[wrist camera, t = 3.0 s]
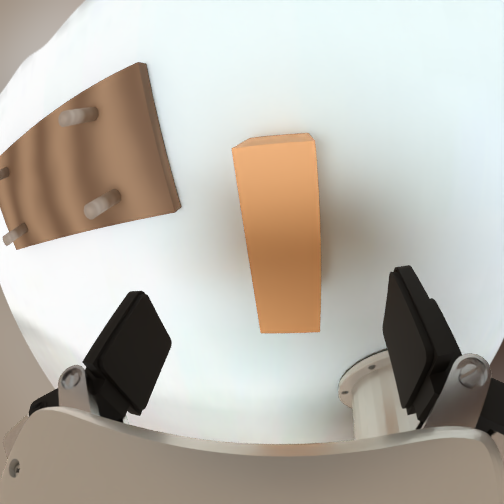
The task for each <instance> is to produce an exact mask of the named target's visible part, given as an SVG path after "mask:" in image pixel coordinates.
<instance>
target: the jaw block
mask: <svg viewBox="0 0 504 504" xmlns="http://www.w3.org/2000/svg"><path fill="white" fill-rule="evenodd" d="M232 154H233V161H234V167H235V174H236V180H237V187H238V193H239V199H240V206H241V212H242V219H243V225H244V231H245V238H246V244H247V250H248V256H249V263H250V269H251V275H252V282H253V288H254V294H255V300H256V306H257V313H258V319H259V325H260V331H261V333H306V332H320V312H321V236H320V207H319V188H318V172H317V159H316V147H315V140H314V139H313V138H312V137H311V136H310V134H309V133H300V134H286V135H274V136H264V137H255V138H249V139H247V140H246V141H244V142H242V143H240V144H239V145H237V146H235V147H233V148H232Z"/></svg>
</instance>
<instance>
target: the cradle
mask: <svg viewBox="0 0 504 504" xmlns="http://www.w3.org/2000/svg"><path fill="white" fill-rule="evenodd" d="M0 208H1V211H2V214H3V217H4V219H5V222H6V225H7V228H8V230H9V233H7V234H6V235H4V236H3V241H4V243H5V245H6V246H8V245H9V244H10V243H12V242H13V243H14V245H15V247H16V250H18V249H21V248H25V247H28V246H32V245H35V244H39V243H43V242H46V241H50V240H54V239H58V238H61V237H65V236H69V235H73V234H77V233H81V232H85V231H90V230H94V229H98V228H102V227H107V226H111V225H116V224H120V223H125V222H130V221H134V220H139V219H144V218H149V217H154V216H159V215H164V214H169V213H175V212H176V211H177V210H178V209H179V208H181V205H180V201H179V198H178V194H177V191H176V187H175V184H174V180H173V176H172V173H171V169H170V165H169V161H168V158H167V154H166V150H165V146H164V142H163V138H162V134H161V130H160V126H159V121H158V117H157V113H156V108H155V104H154V99H153V95H152V90H151V85H150V81H149V76H148V71H147V66H146V64H145V63H140V62H137V63H135V64H133V65H131V66H129V67H127V68H125V69H123V70H121V71H119V72H117V73H115V74H113V75H111V76H109V77H107V78H105V79H104V80H102V81H100V82H98V83H96V84H95V85H93V86H91V87H90V88H88V89H86V90H85V91H83V92H81V93H80V94H78V95H77V96H75V97H74V98H72V99H70V100H69V101H67V102H66V103H64V104H63V105H62V106H60V107H59V108H57V109H56V110H54V111H53V112H52V113H50V114H49V115H48V116H46V117H45V118H44V119H42V120H41V121H40V122H38V123H37V124H36V125H35V126H33V127H32V128H31V129H30V130H29V131H27V132H26V133H25V134H24V135H23V136H21V137H20V138H19V139H18V140H17V141H16V142H15V143H13V144H12V145H11V146H10V147H9V148H8V149H7V150H6V151H5V152H4V153H3V154H2V155H1V156H0Z"/></svg>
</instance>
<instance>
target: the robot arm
mask: <svg viewBox="0 0 504 504" xmlns="http://www.w3.org/2000/svg"><path fill="white" fill-rule="evenodd" d="M383 335H384V339H385V342H386V346H387V349H388V350H387V351H383V352H380V353H378V354H375V355H372V356H370V357H368V358H366V359H364V360H362V361H361V362H359V363H358V364H356V365H355V366H353V367H352V368H351V369H350V370H349V371H347V372H346V374H345V375H344V376H343V377H342V379H341V381H340V383H339V387H338V393H339V398H340V401H341V402H342V403H343V404H345V405H346V406H348V407H350V408H353V421H354V437H355V440H347V441H338V442H327V443H312V444H248V443H233V442H222V441H213V440H204V439H197V438H190V437H184V436H178V435H173V434H168V433H163V432H158V431H153V430H149V429H144V428H140V427H136V426H132V425H129V422H128V419H127V416H126V413H127V411H128V412H129V413H131V414H135V415H139V416H140V415H141V412H142V410H144V409H145V408H146V406H147V403H148V401H149V398H150V396H151V393H152V391H153V389H154V386H155V384H156V381H157V379H158V376H159V374H160V372H161V369H162V367H163V365H164V362H165V360H166V357H167V355H168V353H169V350H170V348H171V339H170V337H169V335H168V333H167V331H166V329H165V328H164V326H163V324H162V322H161V320H160V318H159V316H158V314H157V312H156V310H155V308H154V306H153V305H152V303H151V301H150V298H149V297H148V295H146V294H145V293H144V292H143V291H131V292H129V293H128V294H127V296H126V297H125V298H124V300H123V301H122V303H121V304H120V305H119V307H118V308H117V310H116V311H115V313H114V314H113V316H112V317H111V319H110V320H109V321H108V323H107V324H106V326H105V327H104V329H103V330H102V332H101V333H100V335H99V337H98V338H97V340H96V341H95V343H94V344H93V346H92V347H91V349H90V351H89V352H88V354H87V355H86V357H85V359H84V360H83V363H84V365H85V366H86V369H85V370H84V368H83V367H82V366H79V365H74V366H71V367H69V368H67V369H66V370H65V371H64V372H63V373H62V375H61V376H60V378H59V382H58V388H57V389H55V390H54V391H52V392H50V393H48V394H46V395H44V396H42V397H40V398H38V399H37V400H35V401H34V402H33V403H32V404H31V406H30V410H29V415H28V414H27V415H26V416H25V417H24V418H23V419H22V420H20V421H19V422H18V423H17V424H16V425H15V426H14V427H13V428H12V429H11V430H10V431H9V432H7V434H6V435H5V437H4V441H3V445H4V449H5V453H6V456H7V459H8V460H7V462H6V465H5V468H4V470H3V473H2V476H1V479H0V504H504V383H502V382H500V381H498V380H495V379H493V378H491V374H492V373H491V368H490V366H489V364H488V362H487V361H486V360H485V359H484V358H483V357H481V356H479V355H477V354H472V353H470V354H464V355H462V354H461V351H460V349H459V347H458V345H457V343H456V340H455V338H454V336H453V334H452V332H451V330H450V328H449V326H448V324H447V322H446V320H445V318H444V316H443V314H442V312H441V310H440V308H439V307H438V305H437V303H436V301H435V300H434V299H432V298H431V299H429V297H428V295H427V293H426V291H425V290H424V288H423V286H422V284H421V282H420V281H419V279H418V277H417V276H416V274H415V272H414V270H413V269H412V267H411V266H409V265H408V266H401V267H396V268H395V269H394V272H390V275H389V284H388V293H387V301H386V308H385V315H384V321H383Z"/></svg>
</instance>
